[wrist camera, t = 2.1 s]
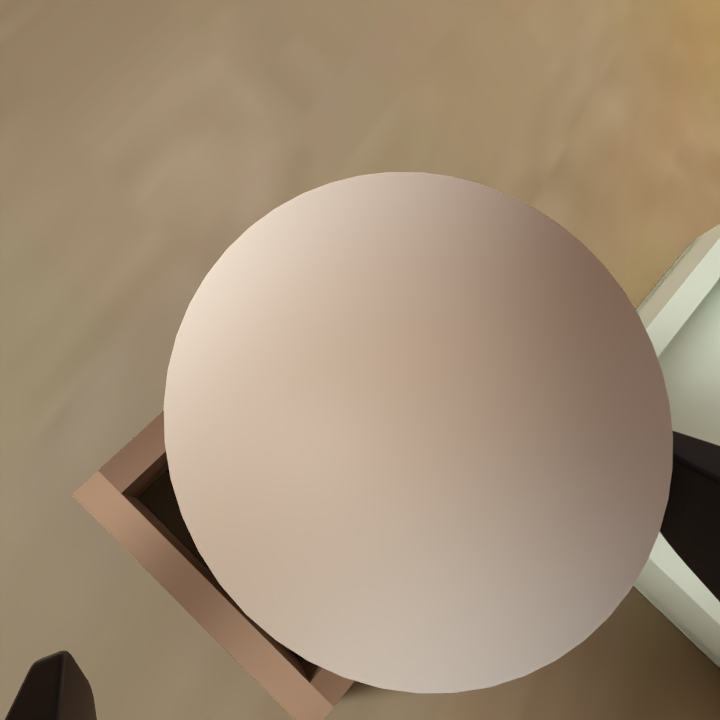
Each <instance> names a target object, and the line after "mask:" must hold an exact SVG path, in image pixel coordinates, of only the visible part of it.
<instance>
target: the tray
mask: <svg viewBox="0 0 720 720" xmlns="http://www.w3.org/2000/svg"><path fill="white" fill-rule="evenodd" d="M636 312H637V313H638V315H639V317H640V319H641V321H642V323H643V325H644V327H645V329H646V331H647V333H648V336H649V338H650V340H651V342H652V344H653V347H654V350H655V353H656V355H657V358H658V361H659V364H660V367H661V370H662V373H663V377H664V381H665V386H666V390H667V395H668V399H669V404H670V412H671V422H672V430H673V431H676V432H679V433H682V434H685V435H688V436H691V437H695V438H698V439H701V440H704V441H707V442H710V443H713V444H716V445H719V446H720V224H718V225H717V226H715V227H714V228H712V229H711V230H709V231H708V232H706V233H704V234H703V235H701V236H700V237H698V238H697V239H695V240H694V241H693V242H692V243H691V244H690V245H689V246H688V248H687V249H686V250H685V251H684V252H683V254H682V255H681V256H680V257H679V259H678V260H677V261H676V262H675V263H674V265H673V266H672V267H671V268H670V269H669V271H668V272H667V273H666V274H665V276H664V277H663V278H662V279H661V280H660V282H659V283H658V284H657V285H656V286H655V288H654V289H653V290H652V291H651V292H650V294H649V295H648V296H647V297H646V299H645V300H644V301H643V302H642V303H641V305H640V306H639V307H638V308H637V309H636ZM633 586H634V587H635V588H636V589H637V590H638V591H639V592H640V593H642V594H643V595H644V596H645V597H646V598H647V599H648V600H649V601H650V602H651V603H652V604H653V605H654V606H655V607H656V608H657V609H658V610H659V611H660V612H661V613H662V614H663V615H665V616H666V617H667V618H668V619H669V620H670V621H671V622H672V623H673V624H674V625H675V626H676V627H677V628H678V629H679V630H680V631H681V632H682V633H683V634H684V635H685V636H687V637H688V638H689V639H690V640H691V641H692V642H693V643H694V644H695V645H696V646H697V647H698V648H699V649H700V650H701V651H702V652H703V653H704V654H705V655H706V656H707V657H708V658H710V659H711V660H712V661H713V662H714V663H715V664H716V665H717V666H718V667H719V668H720V602H719V601H718V600H717V599H716V597H715V596H714V595H713V594H712V593H711V592H710V591H709V590H708V588H707V587H706V586H705V585H704V584H703V583H702V582H701V581H700V580H699V578H698V577H697V576H696V575H695V574H694V573H693V572H692V571H691V570H690V568H689V567H688V566H687V565H686V564H685V563H684V562H683V561H682V559H681V558H680V557H679V556H678V555H677V554H676V552H675V551H674V550H673V549H672V547H671V546H670V545H669V544H668V542H667V541H666V540H665V538H664V537H663V536H662V534H661V533H660V532H659V534H658V536H657V539H656V541H655V544H654V546H653V548H652V551H651V553H650V556H649V558H648V560H647V563H646V564H645V566H644V568H643V569H642V571H641V573H640V575H639V576H638V578H637V580H636V581H635V583H634V585H633Z"/></svg>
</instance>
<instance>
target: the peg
mask: <svg viewBox="0 0 720 720" xmlns="http://www.w3.org/2000/svg"><path fill="white" fill-rule="evenodd" d="M164 437H165V448H166V454H167V460H168V466H169V472H170V478H171V482H172V485H173V489H174V492H175V495H176V498H177V501H178V505H179V508H180V511H181V514H182V517H183V519H184V521H185V524H186V526H187V528H188V530H189V532H190V534H191V536H192V539H193V541H194V543H195V545H196V547H197V549H198V551H199V553H200V554H201V556H202V558H203V559H204V561H205V562H206V564H207V565H208V567H209V568H210V570H211V571H212V573H213V574H214V576H215V578H216V579H217V581H218V582H219V584H220V585H221V586H222V587H223V588H224V590H225V591H226V592H227V593H228V594H229V595H230V597H231V598H232V599H233V600H234V601H235V602H236V603H237V605H238V606H239V607H240V608H241V609H242V610H243V612H244V613H245V614H246V615H247V616H249V617H250V618H251V619H252V620H253V621H254V622H255V623H257V624H258V625H259V626H260V627H261V628H262V629H263V630H265V631H266V632H267V633H268V634H269V635H270V636H271V637H273V638H274V639H275V640H276V641H278V642H279V643H281V644H283V645H284V646H286V647H287V648H289V649H290V650H292V651H293V652H295V653H296V654H298V655H300V656H301V657H303V658H304V659H306V660H307V661H309V662H311V663H313V664H316V665H318V666H320V667H322V668H324V669H326V670H329V671H331V672H333V673H335V674H337V675H339V676H342V677H344V678H347V679H351V680H354V681H358V682H361V683H364V684H368V685H371V686H375V687H378V688H383V689H390V690H397V691H405V692H412V693H457V692H463V691H469V690H475V689H482V688H488V687H492V686H495V685H498V684H502V683H505V682H508V681H511V680H514V679H517V678H520V677H523V676H526V675H528V674H530V673H532V672H534V671H536V670H538V669H540V668H542V667H544V666H546V665H548V664H550V663H552V662H554V661H556V660H557V659H559V658H560V657H562V656H563V655H564V654H566V653H567V652H569V651H570V650H572V649H573V648H574V647H576V646H577V645H579V644H580V643H582V642H583V641H584V640H585V639H586V638H588V637H589V636H590V635H591V634H592V633H593V632H594V631H595V630H596V629H597V628H598V627H599V626H600V625H601V624H602V623H603V622H604V621H606V620H607V619H608V618H609V617H610V615H611V614H612V613H613V612H614V610H615V609H616V608H617V606H618V605H619V604H620V603H621V601H622V600H623V599H624V598H625V596H626V595H627V594H628V593H629V591H630V590H631V588H632V586H633V585H634V583H635V581H636V580H637V578H638V576H639V575H640V573H641V571H642V569H643V568H644V566H645V564H646V563H647V560H648V558H649V556H650V553H651V551H652V548H653V546H654V544H655V541H656V539H657V536H658V534H659V532H660V528H661V524H662V521H663V517H664V513H665V510H666V506H667V502H668V497H669V490H670V482H671V475H672V465H673V432H672V422H671V412H670V404H669V399H668V395H667V390H666V386H665V381H664V377H663V373H662V370H661V367H660V364H659V361H658V358H657V355H656V353H655V350H654V347H653V344H652V342H651V340H650V338H649V336H648V333H647V331H646V329H645V327H644V325H643V323H642V321H641V319H640V317H639V315H638V313H637V312H636V310H635V308H634V307H633V305H632V304H631V302H630V300H629V299H628V297H627V295H626V294H625V292H624V291H623V289H622V288H621V287H620V285H619V284H618V283H617V281H616V280H615V279H614V278H613V276H612V275H611V274H610V272H609V271H608V270H607V269H606V267H605V266H604V265H603V264H602V263H601V262H600V261H599V260H598V259H597V258H596V257H595V256H594V255H593V254H592V253H591V252H590V250H589V249H588V248H587V247H586V246H585V245H584V244H583V243H582V242H580V241H579V240H578V239H577V238H575V237H574V236H573V235H572V234H571V233H569V232H568V231H567V230H566V229H565V228H563V227H562V226H561V225H560V224H558V223H557V222H555V221H554V220H552V219H551V218H549V217H548V216H546V215H545V214H543V213H542V212H540V211H539V210H537V209H535V208H534V207H532V206H530V205H528V204H526V203H524V202H522V201H520V200H518V199H516V198H514V197H512V196H510V195H508V194H506V193H504V192H501V191H498V190H496V189H493V188H490V187H488V186H485V185H482V184H479V183H476V182H472V181H468V180H464V179H460V178H456V177H452V176H446V175H438V174H430V173H422V172H386V173H378V174H369V175H360V176H356V177H352V178H348V179H344V180H340V181H336V182H332V183H329V184H326V185H324V186H321V187H318V188H316V189H313V190H311V191H308V192H306V193H303V194H301V195H299V196H297V197H295V198H294V199H292V200H290V201H288V202H286V203H284V204H283V205H281V206H279V207H277V208H275V209H274V210H272V211H271V212H270V213H268V214H267V215H266V216H264V217H263V218H262V219H260V220H259V221H257V222H256V223H255V224H253V225H252V226H251V227H249V228H248V229H247V230H246V231H245V232H244V233H243V234H242V235H241V236H240V237H239V238H238V239H237V240H236V241H235V242H234V243H233V244H232V245H231V246H230V247H229V248H228V249H227V250H226V251H225V252H224V253H223V255H222V256H221V257H220V259H219V260H218V261H217V262H216V264H215V265H214V266H213V267H212V269H211V270H210V271H209V273H208V274H207V275H206V277H205V278H204V280H203V282H202V284H201V285H200V287H199V289H198V290H197V292H196V294H195V296H194V297H193V299H192V301H191V302H190V304H189V307H188V309H187V312H186V314H185V316H184V319H183V321H182V324H181V326H180V329H179V331H178V333H177V336H176V340H175V344H174V348H173V351H172V355H171V359H170V363H169V367H168V372H167V381H166V390H165V399H164Z"/></svg>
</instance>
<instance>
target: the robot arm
mask: <svg viewBox="0 0 720 720" xmlns="http://www.w3.org/2000/svg"><path fill="white" fill-rule="evenodd" d="M672 432H673V465H672V475H671V482H670V490H669V497H668V502H667V506H666V510H665V513H664V517H663V521H662V524H661V528H660V533H661V534H662V536H663V537H664V538H665V540H666V541H667V542H668V544H669V545H670V546H671V547H672V549H673V550H674V551H675V552H676V554H677V555H678V556H679V557H680V558H681V559H682V561H683V562H684V563H685V564H686V565H687V566H688V567H689V568H690V570H691V571H692V572H693V573H694V574H695V575H696V576H697V577H698V578H699V580H700V581H701V582H702V583H703V584H704V585H705V586H706V587H707V588H708V590H709V591H710V592H711V593H712V594H713V595H714V596H715V597H716V599H717V600H718V601H719V602H720V446H719V445H716V444H713V443H710V442H707V441H704V440H701V439H698V438H695V437H691V436H688V435H685V434H682V433H679V432H676V431H673V430H672ZM5 720H97V718H96V711H95V704H94V697H93V693H92V689H91V686H90V684H89V682H88V680H87V679H86V677H85V675H84V674H83V672H82V671H81V669H80V668H79V666H78V665H77V663H76V662H75V660H74V658H73V657H72V655H71V654H70V653H69V652H67V651H59V652H57V653H54V654H52V655H49V656H47V657H44V658H42V659H39V660H38V661H36V662H35V663H34V664H33V665H32V666H31V668H30V669H29V671H28V674H27V676H26V678H25V680H24V682H23V684H22V686H21V688H20V690H19V692H18V694H17V696H16V698H15V700H14V702H13V704H12V706H11V708H10V710H9V712H8V714H7V716H6V718H5Z"/></svg>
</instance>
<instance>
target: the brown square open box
mask: <svg viewBox="0 0 720 720" xmlns="http://www.w3.org/2000/svg"><path fill="white" fill-rule="evenodd" d="M168 468H169V466H168V460H167V454H166V448H165V437H164V411H163V412H162V413H161V414H160V415H158V416H157V417H156V418H155V419H154V420H153V421H152V422H151V423H150V424H149V425H148V426H146V427H145V428H144V429H143V430H142V431H141V432H140V433H139V434H138V435H137V436H136V437H134V438H133V439H132V440H131V441H130V442H129V443H128V444H127V445H126V446H125V447H123V448H122V449H121V450H120V451H119V452H118V453H117V454H116V455H115V456H114V457H113V458H111V459H110V460H109V461H108V462H107V463H106V464H105V465H104V466H103V467H102V468H101V469H99V470H98V471H97V472H96V473H95V474H94V475H93V476H92V477H91V478H90V479H88V480H87V481H86V482H85V483H84V484H83V485H82V486H81V487H80V488H79V489H78V490H76V491H75V492H74V493H73V494H72V495H73V496H74V497H75V498H76V499H77V500H78V501H79V502H80V503H81V504H82V505H83V506H84V508H85V509H86V510H87V511H88V512H89V513H90V514H91V515H92V516H93V517H94V518H95V519H96V520H97V521H98V522H99V523H100V524H101V525H102V526H103V527H104V528H105V529H106V530H107V531H108V532H109V533H110V534H111V535H112V536H113V537H114V538H115V539H116V540H117V541H118V542H119V543H120V544H121V545H122V546H123V547H124V548H125V549H126V550H127V551H128V552H129V553H130V554H131V555H132V556H133V557H134V558H135V559H136V560H137V561H138V562H139V563H140V564H141V565H142V566H143V567H144V568H145V569H146V570H147V571H148V572H149V573H150V574H151V575H152V576H153V577H154V578H155V579H156V580H157V581H158V582H159V583H160V584H161V585H162V586H163V587H164V588H165V589H166V590H167V591H168V592H169V593H170V594H171V595H172V596H173V597H174V598H175V599H176V600H177V601H178V602H179V603H180V604H181V605H182V606H183V607H184V608H185V609H186V610H187V611H188V612H189V613H190V615H191V616H192V617H193V618H194V619H195V620H196V621H197V622H198V623H199V624H200V625H201V626H202V627H203V628H204V629H205V630H206V631H207V632H208V633H209V634H210V635H211V636H212V637H213V638H214V639H215V640H216V641H217V642H218V643H219V644H220V645H221V646H222V647H223V648H224V649H225V650H226V651H227V652H228V653H229V654H230V655H231V656H232V657H233V658H234V659H235V660H236V661H237V662H238V663H239V664H240V665H241V666H242V667H243V668H244V669H245V670H246V671H247V672H248V673H249V674H250V675H251V676H252V677H253V678H254V679H255V680H256V681H257V682H258V683H259V684H260V685H261V686H262V687H263V688H264V689H265V690H266V691H267V692H268V693H269V694H270V695H271V696H272V697H273V698H274V699H275V700H276V701H277V702H278V703H279V704H280V705H281V706H282V707H283V708H284V709H285V710H286V711H287V712H288V713H289V714H290V715H291V716H292V717H293V718H294V719H295V720H324V718H325V717H326V716H327V715H328V713H329V712H330V711H331V710H332V709H333V707H334V706H335V705H336V704H337V702H338V701H339V700H340V699H341V697H342V696H343V695H344V694H345V693H346V691H347V690H348V689H349V688H350V686H351V685H352V684H353V683H354V680H351V679H347V678H344V677H342V676H339V675H337V674H335V673H333V672H331V671H329V670H326V669H324V668H322V667H320V666H318V665H316V664H313V663H311V662H309V661H307V660H306V659H303V660H302V662H300V661H299V660H298V659H297V658H296V657H295V656H294V655H293V654H292V653H291V652H290V651H289V650H288V649H287V648H286V647H285V646H284V645H283V644H281V643H279V642H278V641H276V640H275V639H274V638H273V637H271V636H270V635H269V634H268V633H267V632H266V631H265V630H263V629H262V628H261V627H260V626H259V625H258V624H257V623H255V622H254V621H253V620H252V619H251V618H250V617H249V616H247V615H246V614H245V613H244V612H243V610H242V609H241V608H240V607H239V606H238V605H237V603H236V602H235V601H234V600H233V599H232V598H231V597H230V595H229V594H228V593H227V592H226V591H225V590H224V588H223V587H222V586H221V585H220V584H219V582H218V581H217V579H216V578H215V576H214V575H213V574H212V573H211V572H210V571H209V570H208V569H207V568H206V567H205V566H204V565H203V564H202V563H201V562H200V561H199V560H198V559H197V558H196V557H195V556H194V555H193V554H192V553H191V552H190V551H189V550H188V549H187V548H186V547H185V546H184V545H183V544H182V543H181V542H180V541H179V540H178V539H177V538H176V537H175V536H174V535H173V534H172V533H171V532H170V531H169V530H168V529H167V528H166V527H165V526H164V525H163V524H162V523H161V522H160V521H159V520H158V519H157V518H156V517H155V516H154V515H153V514H152V513H151V512H150V511H149V510H148V509H147V508H146V507H145V506H144V505H143V504H142V503H141V502H140V501H139V500H138V499H137V498H138V497H139V496H140V495H141V494H142V493H143V492H144V491H145V490H146V489H147V488H148V487H149V486H151V485H152V484H153V483H154V482H155V481H156V480H157V479H158V478H159V477H160V476H161V475H162V474H163V473H164V472H165V471H166V470H167V469H168Z"/></svg>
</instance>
